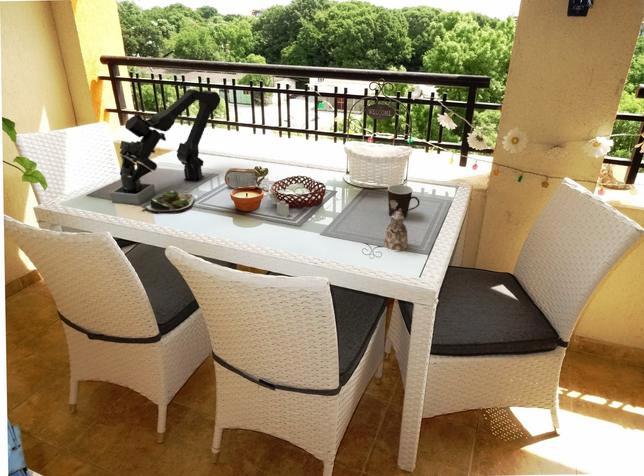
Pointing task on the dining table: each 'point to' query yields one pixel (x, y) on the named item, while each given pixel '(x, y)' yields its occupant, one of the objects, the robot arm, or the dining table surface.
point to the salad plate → (170, 203)
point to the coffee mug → (400, 199)
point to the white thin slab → (280, 205)
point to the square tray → (133, 195)
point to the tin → (240, 178)
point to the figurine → (396, 232)
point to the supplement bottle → (126, 180)
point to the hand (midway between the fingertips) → (126, 178)
